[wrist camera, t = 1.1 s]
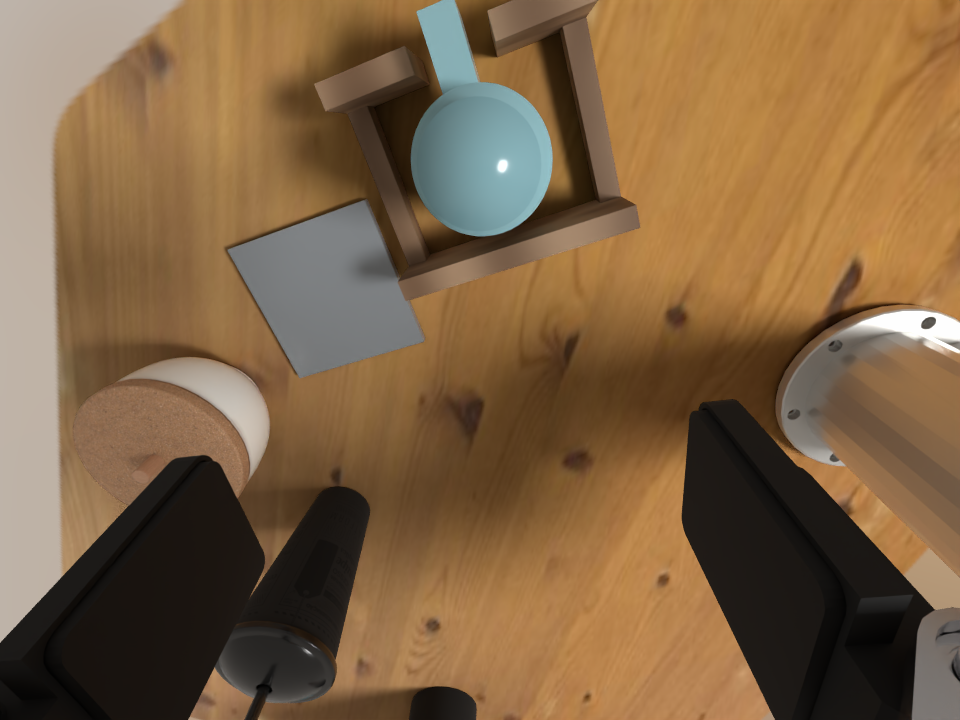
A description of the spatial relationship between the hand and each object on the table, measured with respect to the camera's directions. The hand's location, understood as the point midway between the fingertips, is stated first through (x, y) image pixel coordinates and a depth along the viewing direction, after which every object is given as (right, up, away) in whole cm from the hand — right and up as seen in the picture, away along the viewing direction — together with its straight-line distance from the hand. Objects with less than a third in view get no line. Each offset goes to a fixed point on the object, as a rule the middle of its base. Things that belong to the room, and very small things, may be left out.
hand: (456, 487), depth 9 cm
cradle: (+1, +15, +18) cm, 24 cm away
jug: (0, +16, +18) cm, 24 cm away
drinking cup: (-12, -10, +32) cm, 35 cm away
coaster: (-10, +7, +23) cm, 26 cm away
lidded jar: (-20, 0, +27) cm, 33 cm away
